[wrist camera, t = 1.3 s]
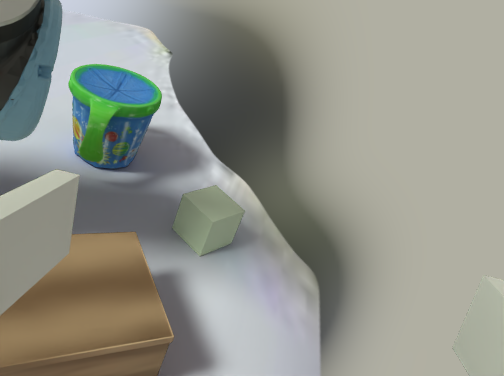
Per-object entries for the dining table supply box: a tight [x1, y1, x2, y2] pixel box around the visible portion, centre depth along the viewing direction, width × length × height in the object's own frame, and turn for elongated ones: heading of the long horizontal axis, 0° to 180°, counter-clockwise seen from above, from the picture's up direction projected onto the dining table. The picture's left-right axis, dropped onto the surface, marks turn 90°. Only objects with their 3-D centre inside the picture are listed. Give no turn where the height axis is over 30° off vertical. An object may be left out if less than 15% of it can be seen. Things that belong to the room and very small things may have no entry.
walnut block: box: [0, 232, 174, 376], centre depth 35 cm, size 11×11×6 cm
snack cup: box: [69, 64, 162, 168], centre depth 56 cm, size 16×10×10 cm
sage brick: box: [172, 185, 245, 256], centre depth 51 cm, size 5×5×5 cm
